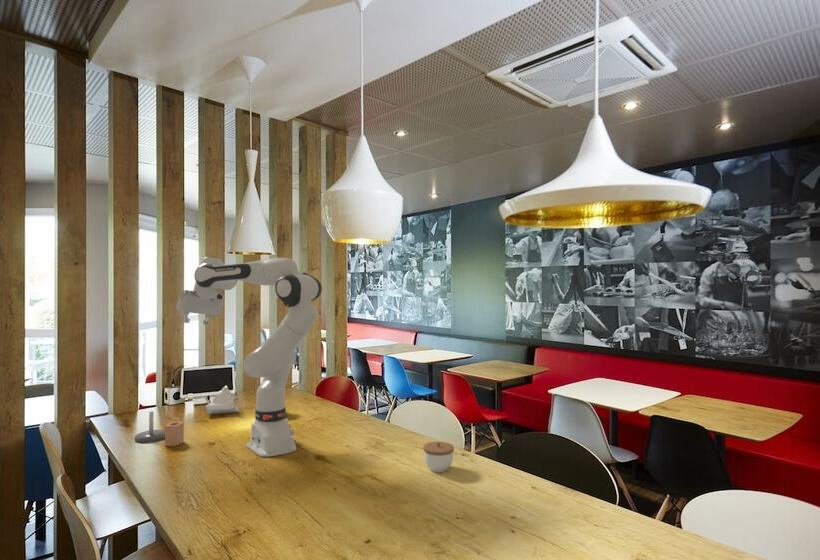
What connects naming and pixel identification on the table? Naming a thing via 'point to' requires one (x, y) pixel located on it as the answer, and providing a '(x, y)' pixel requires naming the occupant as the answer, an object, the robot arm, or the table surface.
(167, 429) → the collar
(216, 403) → the white irregular peaked block
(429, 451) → the lidded jar
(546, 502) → the table surface
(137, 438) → the stand
